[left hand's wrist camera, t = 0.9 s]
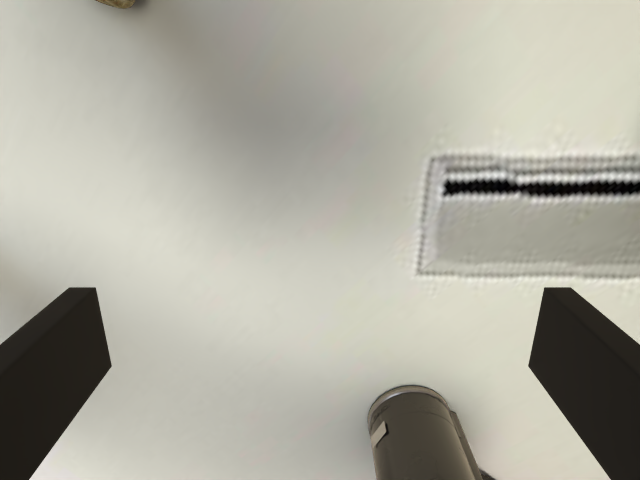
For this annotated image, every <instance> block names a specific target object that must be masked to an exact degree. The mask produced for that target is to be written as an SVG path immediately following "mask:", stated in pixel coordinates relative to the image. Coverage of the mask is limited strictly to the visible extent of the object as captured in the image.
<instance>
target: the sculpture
mask: <svg viewBox="0 0 640 480" xmlns="http://www.w3.org/2000/svg"><path fill="white" fill-rule="evenodd" d="M96 1H98V2H101V3H104V4H107V5H109V6H113V7H117V8H123V9H125V8H129V7H131V6H132V5H133V4H134V2H135V1H136V0H96Z"/></svg>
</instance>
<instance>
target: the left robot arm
mask: <svg viewBox="0 0 640 480" xmlns="http://www.w3.org/2000/svg"><path fill="white" fill-rule="evenodd" d="M110 368H111V361H110V356H109V351H108V346H107V341H106V336H105V331H104V326H103V321H102V316H101V312H100V307H99V302H98V297H97V292H96V288H68V289H67V290H66V291H65V292H63V293H62V294H61V295H60V296H59V297H57V298H56V299H55V300H54V301H53V302H51V303H50V304H49V305H48V306H47V307H45V308H44V309H43V310H42V311H40V312H39V313H38V314H37V315H36V316H34V317H33V318H32V319H31V320H30V321H28V322H27V323H26V324H25V325H24V326H22V327H21V328H20V329H19V330H18V331H16V332H15V333H14V334H13V335H12V336H10V337H9V338H8V339H7V340H5V341H4V342H3V343H2V344H1V345H0V480H29V479H30V478H31V476H32V475H33V473H34V472H35V471H36V469H37V468H38V467H39V465H40V464H41V462H42V461H43V460H44V458H45V457H46V456H47V454H48V453H49V451H50V450H51V449H52V447H53V446H54V445H55V443H56V442H57V440H58V439H59V438H60V436H61V435H62V434H63V432H64V431H65V430H66V428H67V427H68V425H69V424H70V423H71V421H72V420H73V419H74V417H75V416H76V414H77V413H78V412H79V410H80V409H81V408H82V406H83V405H84V403H85V402H86V401H87V399H88V398H89V397H90V395H91V394H92V392H93V391H94V390H95V388H96V387H97V386H98V384H99V383H100V381H101V380H102V379H103V377H104V376H105V375H106V373H107V372H108V370H109V369H110ZM529 368H530V369H531V370H532V372H533V373H534V375H535V376H536V377H537V379H538V380H539V381H540V383H541V384H542V386H543V387H544V388H545V390H546V391H547V392H548V394H549V395H550V397H551V398H552V399H553V401H554V402H555V403H556V405H557V406H558V408H559V409H560V410H561V412H562V413H563V414H564V416H565V417H566V419H567V420H568V421H569V423H570V424H571V425H572V427H573V428H574V430H575V431H576V432H577V434H578V435H579V436H580V438H581V439H582V440H583V442H584V443H585V445H586V446H587V447H588V449H589V450H590V451H591V453H592V454H593V456H594V457H595V458H596V460H597V461H598V462H599V464H600V465H601V467H602V468H603V469H604V471H605V472H606V473H607V475H608V476H609V478H610V479H611V480H640V345H639V344H638V343H637V342H636V341H635V340H633V339H632V338H631V337H630V336H628V335H627V334H626V333H625V332H624V331H622V330H621V329H620V328H619V327H618V326H616V325H615V324H614V323H613V322H612V321H610V320H609V319H608V318H607V317H606V316H604V315H603V314H602V313H601V312H600V311H598V310H597V309H596V308H595V307H593V306H592V305H591V304H590V303H589V302H587V301H586V300H585V299H584V298H583V297H581V296H580V295H579V294H578V293H577V292H575V291H574V290H573V289H572V288H544V292H543V297H542V302H541V307H540V312H539V316H538V321H537V326H536V331H535V336H534V341H533V346H532V351H531V356H530V361H529Z"/></svg>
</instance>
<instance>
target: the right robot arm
mask: <svg viewBox="0 0 640 480" xmlns="http://www.w3.org/2000/svg"><path fill="white" fill-rule="evenodd" d="M368 428H369V433H370V436H371V444H372V450H373V458H374V465H375V472H376V479H377V480H493V479H491V478H490V477H488V476H485V475H481V474H480V471H479V469H478V466H477V464H476V461H475V459H474V457H473V454H472V452H471V449H470V447H469V444H468V442H467V439H466V437H465V434H464V432H463V430H462V427H461V425H460V422H459V420H458V417H457V415H456V413H454V412H451V411H450V410H449V407H448V405H447V403H446V402H445V400H444V399H443V398H442V397H441V396H440V395H439V394H437V393H436V392H434V391H432V390H430V389H427V388H424V387H419V386H405V387H400V388H396V389H393V390H391V391H389V392H387V393H385V394H383V395H382V396H381V397H380V398H378V399H377V400H376V402H375V403H374V404H373V406H372V407H371V409H370V411H369V415H368Z"/></svg>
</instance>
